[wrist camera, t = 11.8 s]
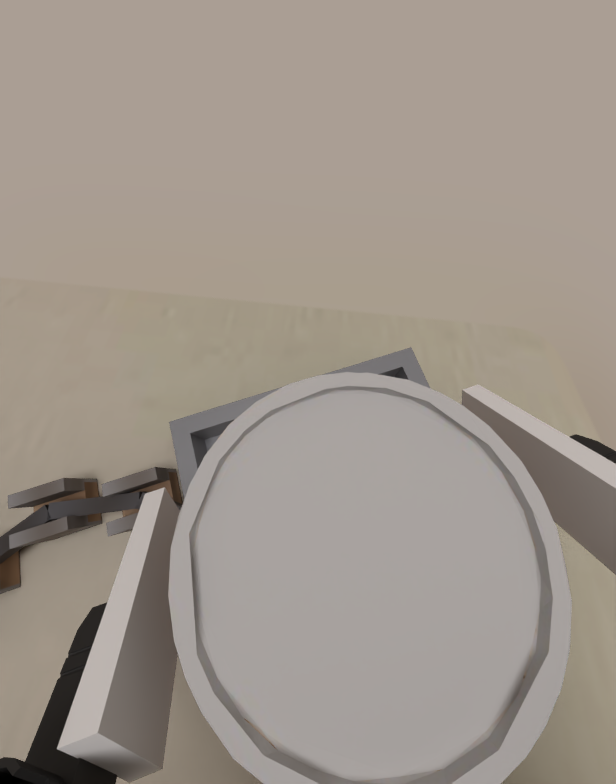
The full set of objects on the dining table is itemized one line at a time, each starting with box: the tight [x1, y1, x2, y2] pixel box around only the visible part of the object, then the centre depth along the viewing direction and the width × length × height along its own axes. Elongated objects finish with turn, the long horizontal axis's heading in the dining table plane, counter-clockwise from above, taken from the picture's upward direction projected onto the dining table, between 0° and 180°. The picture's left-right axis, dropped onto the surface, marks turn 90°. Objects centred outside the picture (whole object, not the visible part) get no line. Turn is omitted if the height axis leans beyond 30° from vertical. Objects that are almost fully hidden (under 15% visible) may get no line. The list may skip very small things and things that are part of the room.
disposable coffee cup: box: [168, 372, 572, 784], centre depth 12 cm, size 10×10×12 cm
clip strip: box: [0, 467, 182, 594], centre depth 17 cm, size 16×5×3 cm, turn 108°
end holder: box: [169, 348, 430, 499], centre depth 17 cm, size 15×15×4 cm
